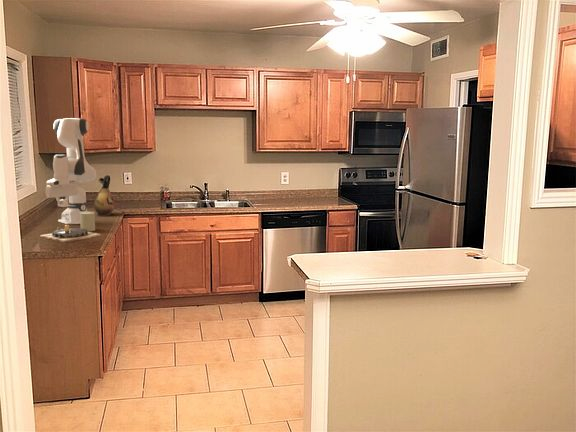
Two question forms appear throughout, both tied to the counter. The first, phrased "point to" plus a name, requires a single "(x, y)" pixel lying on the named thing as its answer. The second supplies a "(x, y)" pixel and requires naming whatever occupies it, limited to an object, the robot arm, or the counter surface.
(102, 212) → the ceramic jug
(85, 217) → the can
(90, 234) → the plate
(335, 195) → the counter surface
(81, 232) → the sprocket
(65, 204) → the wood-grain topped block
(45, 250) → the counter surface
